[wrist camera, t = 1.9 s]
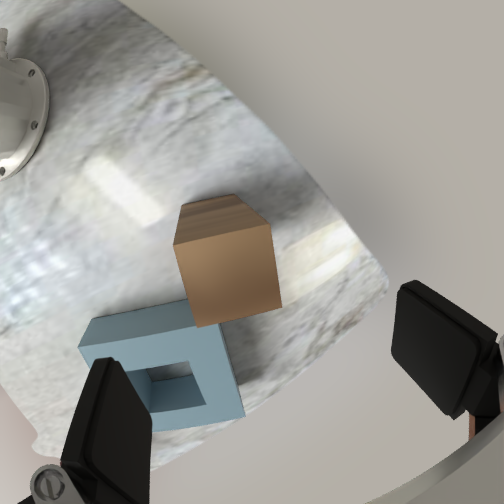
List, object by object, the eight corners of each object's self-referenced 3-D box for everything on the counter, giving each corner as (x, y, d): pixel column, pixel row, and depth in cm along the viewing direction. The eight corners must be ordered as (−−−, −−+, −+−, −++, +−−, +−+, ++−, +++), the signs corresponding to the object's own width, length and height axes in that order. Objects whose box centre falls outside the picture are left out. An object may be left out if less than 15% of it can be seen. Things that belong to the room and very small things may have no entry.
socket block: (91, 318, 25) (77, 347, 21) (212, 293, 27) (217, 321, 22) (137, 403, 30) (134, 433, 25) (238, 386, 32) (245, 416, 27)
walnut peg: (181, 205, 24) (172, 245, 13) (233, 193, 25) (269, 223, 13) (193, 254, 26) (197, 328, 14) (242, 243, 26) (282, 307, 15)
